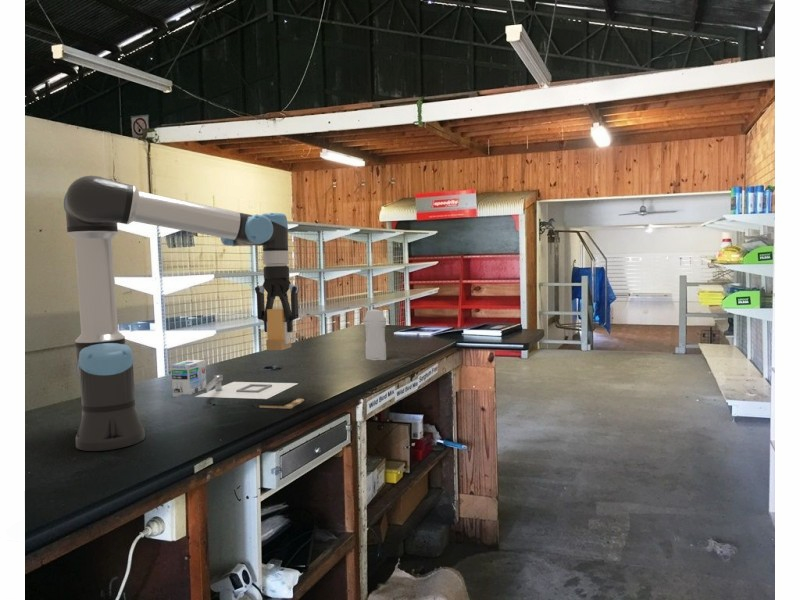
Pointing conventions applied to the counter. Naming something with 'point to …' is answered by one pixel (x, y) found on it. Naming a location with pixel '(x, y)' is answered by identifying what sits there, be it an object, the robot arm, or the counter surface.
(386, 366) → the counter surface
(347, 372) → the counter surface
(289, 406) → the tan flat l-shape
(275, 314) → the tan tall block
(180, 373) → the light bulb box
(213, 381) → the silver metal bar
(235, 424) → the counter surface
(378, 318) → the tall pale column
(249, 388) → the socket board
